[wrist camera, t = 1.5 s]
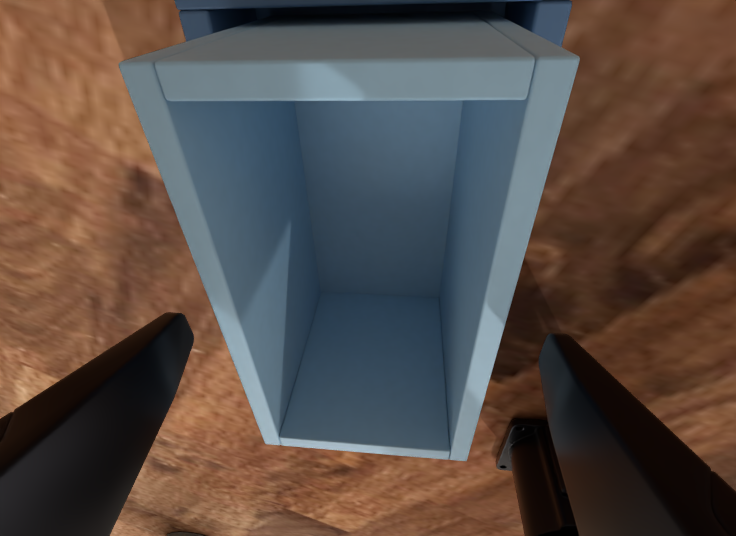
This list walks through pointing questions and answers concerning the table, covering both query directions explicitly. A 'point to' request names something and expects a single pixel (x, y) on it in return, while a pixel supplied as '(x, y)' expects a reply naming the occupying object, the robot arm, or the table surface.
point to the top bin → (358, 209)
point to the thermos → (183, 534)
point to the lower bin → (369, 12)
